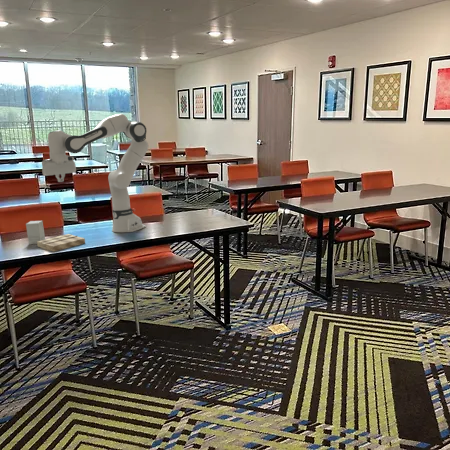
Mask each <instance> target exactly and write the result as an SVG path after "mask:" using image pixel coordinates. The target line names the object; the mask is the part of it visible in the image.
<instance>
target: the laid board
mask: <svg viewBox="0 0 450 450" xmlns="http://www.w3.org/2000/svg"><path fill="white" fill-rule="evenodd" d="M83 244H86V238H85V237H81V236H78V235H74V237H70V238H66V239H62V240H58V241H54V242H50V243H46V244H45V245H46V249H45V250H47V251H50V252H57V251H61V250H65V249H69V248H72V247H76V246H80V245H83Z"/></svg>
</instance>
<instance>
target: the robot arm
mask: <svg viewBox="0 0 450 450" xmlns="http://www.w3.org/2000/svg"><path fill="white" fill-rule="evenodd" d="M120 133H123V135H125V136H126V138H128V139H131V141H130V145H129V147H128V148H127V150H126V151H125V153H124V154H123V156H122V157H121V159H120V162H119V165H118V167H117V169H115V170H112V171H110V172H109V174H108V177H107V178H108V179H107V180H108V184H109V191H110V195H111V202H112V204H111V205H112V210H111V211H112V212H111V213H112V218H113V220H112V230H111V231H112V232H113V233H133V232H136V231H138V230H141V229H144V228H147V225H145V224H144V223H143V222H142V219H141V217H140V216H138V215H137V214H135V213H134V212H136V210H137V209H136V208H132V207H131V201H130V195H129V194H130V193H129V190H128V187H129V186H130V185H131V181H132V180H133V177H134V175H135V173H136V170H137V169H138V167H139V166H140V164H141V162H142V160H143V159H144V157H145V156H146V153H147V152H148V149H149V143H148V141H147V140H146V139H147V138H146V137H147V126H146V125H145V124H144V123H143V122H141V121H130V120H129V119H128V117H127V116H126V114H123V113H118V114H117V113H116V114H113V115H110V116H108V117H106V118H104V119H102V120H100V121H99V122H98V123H96V126H95V127H94V128H93V129H91V130H89V131H87V132H85V133H83V134H80V135H71V134H69V133H66V132H64V131H63V130H61V129H58V130H54V131H53V130H52V131H50V132H49V133H48V135H47V142H48V143H47V145H48V148H49V158H48V159H43V160H42V161H41V170H42V171H41V172H42V173H41V174H42V175H43V176H47V177H48V176H55V178H56V179H57V182H58V183H63V182H64V181H65V180H64V179H65V177H66V174H72V173H73V174H74V173H76V172H77V166H76V162H75V161H74V160H75V158H74V156H71V155H67V154H66V152H69V153H71V154H79V153H80V152H82V151H83V149H84V148H85V147H86V146H87V145H90V144H92V143H93V142H95V141H98V140H100V139H106V138H110V137H113V136H115V135H118V134H120ZM60 176H61V177H60Z"/></svg>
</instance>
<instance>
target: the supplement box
mask: <svg viewBox="0 0 450 450" xmlns="http://www.w3.org/2000/svg"><path fill="white" fill-rule="evenodd" d="M25 227H26V235H27V240H28V244H29V245H38V244H37V241H41V240H45V239H46V236H45V235H46V234H45V229H44V220H30V221H28V222H26V223H25Z"/></svg>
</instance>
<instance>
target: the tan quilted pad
mask: <svg viewBox="0 0 450 450" xmlns="http://www.w3.org/2000/svg"><path fill="white" fill-rule="evenodd" d="M74 236H75V235H74V234H70V233H67V234H62V235H58V236H54V237H50V238H45V240H41V241H37V244H36V245H37V247H38V248H41V249H44V250H47V249H46V245H45V244H46V243H50V242H54V241H58V240H62V239H66V238H70V237H74Z"/></svg>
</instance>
